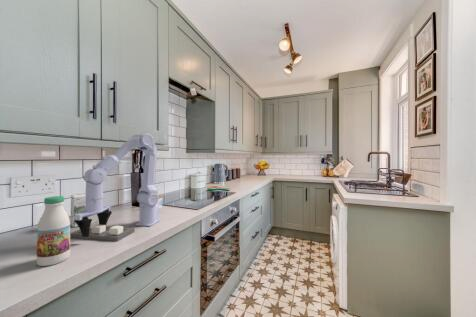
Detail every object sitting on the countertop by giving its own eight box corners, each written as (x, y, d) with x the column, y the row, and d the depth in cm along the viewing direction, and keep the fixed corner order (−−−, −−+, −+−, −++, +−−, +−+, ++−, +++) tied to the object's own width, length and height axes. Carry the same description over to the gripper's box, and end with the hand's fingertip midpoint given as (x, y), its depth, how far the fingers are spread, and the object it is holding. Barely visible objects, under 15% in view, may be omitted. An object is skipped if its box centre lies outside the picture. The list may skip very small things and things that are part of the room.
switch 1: (89, 225, 89) (90, 220, 89) (97, 226, 88) (97, 220, 88) (83, 228, 86) (83, 222, 86) (91, 228, 85) (91, 222, 85)
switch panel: (90, 228, 90) (90, 225, 90) (134, 231, 87) (134, 228, 87) (68, 237, 80) (68, 233, 80) (117, 241, 77) (117, 237, 77)
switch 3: (115, 231, 82) (115, 225, 82) (123, 232, 82) (123, 226, 82) (109, 234, 79) (109, 228, 79) (117, 234, 79) (117, 228, 79)
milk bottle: (36, 260, 63) (37, 196, 63) (68, 252, 68) (69, 193, 68) (36, 270, 57) (36, 200, 57) (71, 260, 63) (71, 197, 62)
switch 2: (98, 230, 83) (98, 224, 83) (105, 230, 83) (105, 224, 83) (91, 233, 80) (91, 226, 80) (99, 233, 80) (99, 227, 80)
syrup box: (85, 222, 99) (85, 193, 99) (88, 225, 95) (88, 194, 95) (70, 225, 94) (70, 194, 94) (73, 228, 91) (73, 196, 90)
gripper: (100, 195, 87) (100, 225, 87) (67, 202, 73) (67, 239, 73) (115, 195, 86) (114, 226, 86) (84, 203, 72) (84, 240, 72)
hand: (94, 232), depth 80 cm, fingers open, 7 cm apart
